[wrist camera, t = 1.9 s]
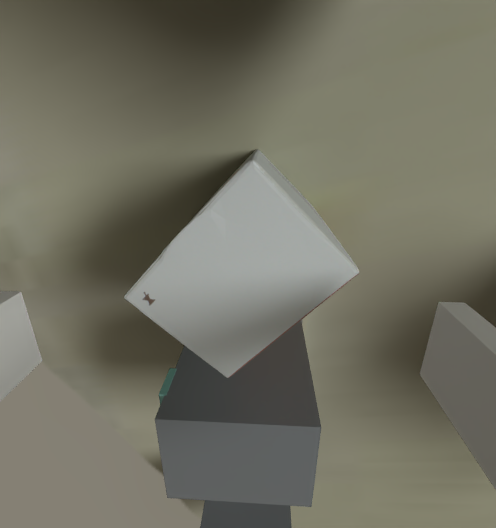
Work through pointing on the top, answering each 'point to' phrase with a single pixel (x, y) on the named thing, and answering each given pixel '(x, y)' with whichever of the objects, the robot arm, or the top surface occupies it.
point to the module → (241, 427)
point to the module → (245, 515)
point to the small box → (243, 269)
